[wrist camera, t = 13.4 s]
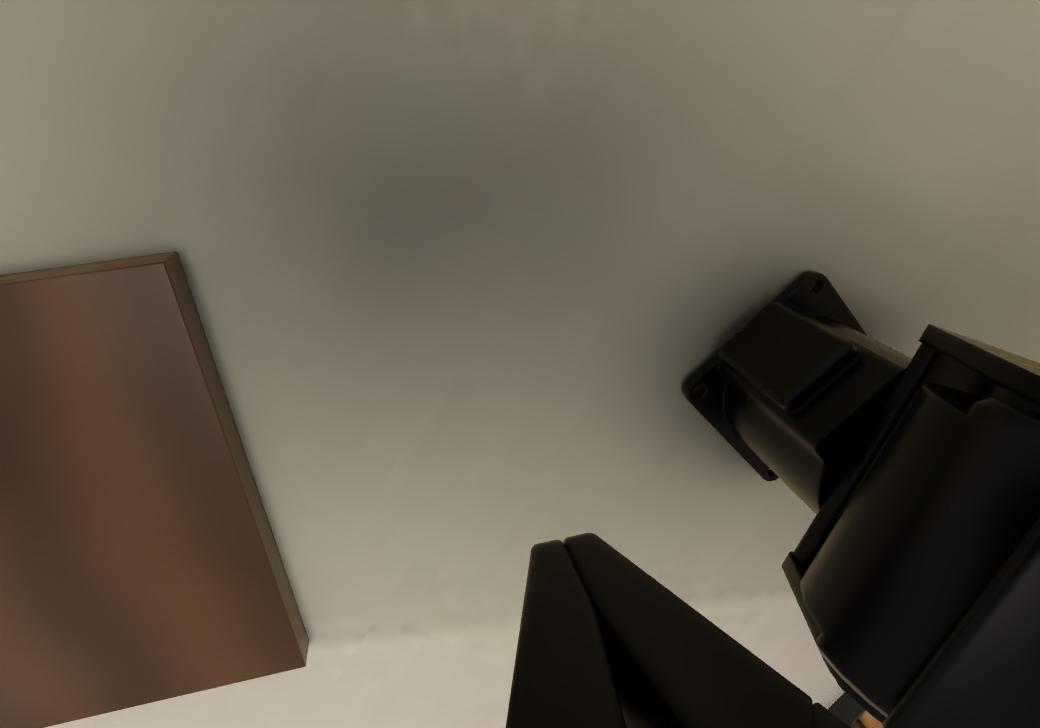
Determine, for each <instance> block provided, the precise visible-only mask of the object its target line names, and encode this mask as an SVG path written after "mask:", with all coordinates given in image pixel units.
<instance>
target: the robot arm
mask: <svg viewBox="0 0 1040 728" xmlns="http://www.w3.org/2000/svg"><path fill="white" fill-rule="evenodd" d="M814 281H815V285H814V287H813V288H812V289H811V290H809V287H810V285H811V284H812V282H814ZM919 341H920V342H922V343H921V345H920V347H919V348H918V350H917V352H916V353H915V355H914V356H913V358H912V359H911V358H909V357H907V356H905V355H903V354H901V353H899V352H897V351H895V350H893V349H891V348H889V347H887V346H885V345H884V344H882V343H880V342H878V341H876V340H874V339H872V338H870V337H868V336H867V335H866V334H865V332H864V331H863V329H862V328H861V326H860V325H859V323H858V322H857V321H856V319H855V318H854V316H853V315H852V313H851V312H850V310H849V309H848V308H847V306H846V305H845V303H844V302H843V300H842V299H841V297H840V296H839V295H838V293H837V292H836V290H835V289H834V287H833V286H832V284H831V283H830V282H829V280H828V279H827V277H826V276H824V275H823V274H821V273H818V272H816V271H808V272H806V273H804V274H803V275H802V276H800V277H799V278H798V279H797V280H796V281H795V282H794V283H793V284H792V285H790V286H789V287H788V288H787V289H786V290H785V291H784V292H783V293H782V294H781V295H779V296H778V297H777V298H776V299H775V300H774V301H773V302H772V303H770V304H769V305H768V306H767V307H766V308H764V309H763V310H762V311H761V312H760V313H759V314H758V315H757V316H756V317H755V318H753V319H752V320H751V321H750V322H749V323H748V324H747V325H746V326H745V327H743V328H742V329H741V330H740V331H739V332H738V333H737V334H736V335H735V336H734V337H732V338H731V339H730V340H729V341H728V342H727V343H726V344H725V345H724V346H723V347H722V348H721V349H720V350H719V351H718V352H717V353H716V354H714V355H713V356H712V357H711V358H710V359H709V360H708V361H707V362H706V363H704V364H703V365H702V366H701V367H700V368H699V369H698V370H697V371H696V372H695V373H693V374H692V375H691V376H690V377H689V378H688V379H687V380H686V381H685V382H684V384H683V387H682V393H683V395H684V396H685V397H686V398H687V400H688V401H689V402H690V403H691V404H692V405H693V406H694V407H695V408H696V409H697V410H698V411H699V412H700V413H701V414H702V415H703V416H704V417H705V418H706V419H707V420H708V421H709V422H710V423H711V425H712V426H713V427H714V428H715V429H716V430H717V431H718V432H719V433H720V434H721V435H722V436H723V437H724V438H725V439H726V440H727V441H728V442H729V443H730V444H731V445H732V446H733V447H734V448H735V450H736V451H737V452H738V453H739V454H740V455H741V456H742V457H743V458H744V459H745V460H746V461H747V462H748V463H749V464H750V465H751V466H752V467H753V468H754V469H755V470H756V471H757V472H758V473H759V475H760V476H761V477H762V478H763V479H765V480H766V481H773V480H776V479H777V478H780V479H781V480H782V481H783V482H784V483H785V484H786V485H787V486H788V487H789V488H790V489H791V490H792V491H793V492H794V493H795V494H796V495H797V496H798V497H799V498H801V499H802V500H803V501H804V502H805V503H806V504H807V505H808V506H809V507H810V508H811V509H812V510H813V511H814V512H815V513H816V514H817V515H816V517H815V518H814V520H813V521H812V523H811V525H810V526H809V528H808V530H807V531H806V533H805V535H804V536H803V538H802V539H801V541H800V543H799V544H798V546H797V548H796V549H795V551H794V552H790V553H789V554H788V556H787V557H786V559H785V561H784V562H783V564H782V568H783V570H784V573H785V575H786V577H787V579H788V582H789V584H790V586H791V588H792V590H793V593H794V595H795V597H796V599H797V602H798V604H799V606H800V608H801V611H802V613H803V615H804V617H805V620H806V622H807V624H808V626H809V628H810V631H811V633H812V635H813V637H814V640H815V642H816V644H817V646H818V649H819V651H820V653H821V655H822V658H823V660H824V661H825V663H826V665H827V667H828V668H829V670H830V672H831V673H832V675H833V676H834V677H835V679H836V681H837V683H838V685H839V686H840V687H841V688H842V689H843V691H845V692H846V693H847V694H849V695H850V696H851V697H852V698H853V699H854V700H855V701H856V702H857V703H858V704H859V705H860V706H861V707H862V708H864V709H865V710H866V711H867V712H868V713H869V714H871V715H872V716H873V717H874V718H875V719H877V720H878V721H880V722H881V723H882V726H883V728H1040V364H1039V363H1037V362H1034V361H1031V360H1029V359H1026V358H1023V357H1020V356H1018V355H1015V354H1012V353H1009V352H1006V351H1004V350H1001V349H998V348H995V347H992V346H990V345H987V344H984V343H981V342H978V341H976V340H973V339H970V338H967V337H965V336H962V335H959V334H956V333H953V332H951V331H948V330H945V329H942V328H939V327H937V326H934V325H931V324H928V326H927V328H926V329H925V331H924V333H923V334H922V336H921V338H920V339H919ZM698 386H701V387H700V390H699V391H698V392H696V393H693V391H694V389H695V388H696V387H698ZM769 468H770V470H768V469H769ZM506 728H851V727H850V726H848V725H847V724H846V723H844V722H843V721H842V720H840V719H839V718H838V717H836V716H835V715H834V714H832V713H831V712H830V711H828V710H827V709H826V708H824V707H823V706H822V705H820V704H819V703H814V704H812V699H811V697H809V696H808V695H807V694H805V693H804V692H803V691H802V690H800V689H799V688H798V687H796V686H795V685H794V684H792V683H791V682H790V681H788V680H787V679H786V678H784V677H783V676H782V675H780V674H779V673H778V672H776V671H775V670H774V669H772V668H771V667H770V666H768V665H767V664H766V663H765V662H763V661H762V660H761V659H759V658H758V657H757V656H755V655H754V654H753V653H751V652H750V651H749V650H747V649H746V648H745V647H743V646H742V645H741V644H739V643H738V642H737V641H735V640H734V639H733V638H731V637H730V636H729V635H728V634H726V633H725V632H724V631H722V630H721V629H720V628H718V627H717V626H716V625H714V624H713V623H712V622H710V621H709V620H708V619H706V618H705V617H704V616H702V615H701V614H700V613H698V612H697V611H696V610H694V609H693V608H692V607H691V606H689V605H688V604H687V603H685V602H684V601H683V600H681V599H680V598H679V597H677V596H676V595H675V594H673V593H672V592H671V591H669V590H668V589H667V588H665V587H664V586H663V585H661V584H660V583H659V582H657V581H656V580H655V579H654V578H652V577H651V576H650V575H648V574H647V573H646V572H644V571H643V570H642V569H640V568H639V567H638V566H636V565H635V564H634V563H632V562H631V561H630V560H628V559H627V558H626V557H624V556H623V555H622V554H620V553H619V552H618V551H617V550H615V549H614V548H613V547H611V546H610V545H609V544H607V543H606V542H605V541H603V540H602V539H601V538H599V537H598V536H597V535H595V534H593V533H586V534H581V535H576V536H572V537H568V538H566V539H565V540H564V541H563V542H562V541H560V540H553V541H549V542H544V543H540V544H536V545H534V546H533V547H532V549H531V555H530V562H529V569H528V576H527V583H526V590H525V597H524V604H523V611H522V618H521V625H520V632H519V639H518V646H517V653H516V660H515V667H514V674H513V681H512V688H511V695H510V702H509V709H508V716H507V722H506Z"/></svg>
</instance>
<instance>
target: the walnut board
mask: <svg viewBox="0 0 1040 728" xmlns="http://www.w3.org/2000/svg"><path fill="white" fill-rule="evenodd" d="M308 644H309V641H308V638H307V635H306V632H305V629H304V626H303V623H302V620H301V617H300V614H299V612H298V609H297V606H296V603H295V600H294V597H293V594H292V591H291V588H290V585H289V582H288V579H287V576H286V573H285V570H284V567H283V564H282V561H281V558H280V555H279V553H278V550H277V547H276V544H275V541H274V538H273V535H272V532H271V529H270V526H269V523H268V520H267V517H266V514H265V511H264V508H263V505H262V502H261V499H260V496H259V494H258V491H257V488H256V485H255V482H254V479H253V476H252V473H251V470H250V467H249V464H248V461H247V458H246V455H245V452H244V449H243V446H242V443H241V440H240V438H239V435H238V432H237V429H236V426H235V423H234V420H233V417H232V414H231V411H230V408H229V405H228V402H227V399H226V396H225V393H224V390H223V387H222V384H221V381H220V379H219V376H218V373H217V370H216V367H215V364H214V361H213V358H212V355H211V352H210V349H209V346H208V343H207V340H206V337H205V334H204V331H203V328H202V325H201V322H200V320H199V317H198V314H197V311H196V308H195V305H194V302H193V299H192V296H191V293H190V290H189V287H188V284H187V281H186V278H185V275H184V272H183V269H182V266H181V263H180V261H179V258H178V255H177V253H176V252H171V253H164V254H156V255H149V256H141V257H134V258H127V259H119V260H112V261H104V262H97V263H89V264H82V265H74V266H67V267H60V268H52V269H45V270H37V271H30V272H22V273H15V274H8V275H0V728H44V727H48V726H52V725H57V724H61V723H65V722H70V721H74V720H78V719H82V718H87V717H91V716H95V715H100V714H104V713H108V712H112V711H117V710H121V709H125V708H130V707H134V706H138V705H143V704H147V703H151V702H155V701H160V700H164V699H168V698H173V697H177V696H181V695H185V694H190V693H194V692H198V691H203V690H207V689H211V688H216V687H220V686H224V685H228V684H233V683H237V682H241V681H246V680H250V679H254V678H258V677H263V676H267V675H271V674H276V673H280V672H284V671H289V670H293V669H297V668H301V667H305V666H306V660H307V652H308Z"/></svg>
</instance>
